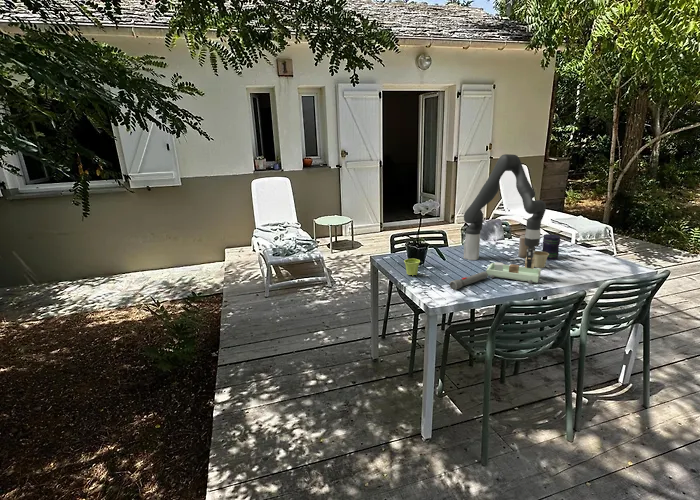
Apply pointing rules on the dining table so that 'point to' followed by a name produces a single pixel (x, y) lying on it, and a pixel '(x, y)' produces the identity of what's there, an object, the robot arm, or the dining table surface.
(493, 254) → the dining table surface
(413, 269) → the plant pot
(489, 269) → the cart
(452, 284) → the flashlight
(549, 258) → the storage jar
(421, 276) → the dining table surface
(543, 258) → the flower pot
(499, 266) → the grey part
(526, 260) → the beech part
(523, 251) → the pillar candle
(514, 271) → the walnut part
